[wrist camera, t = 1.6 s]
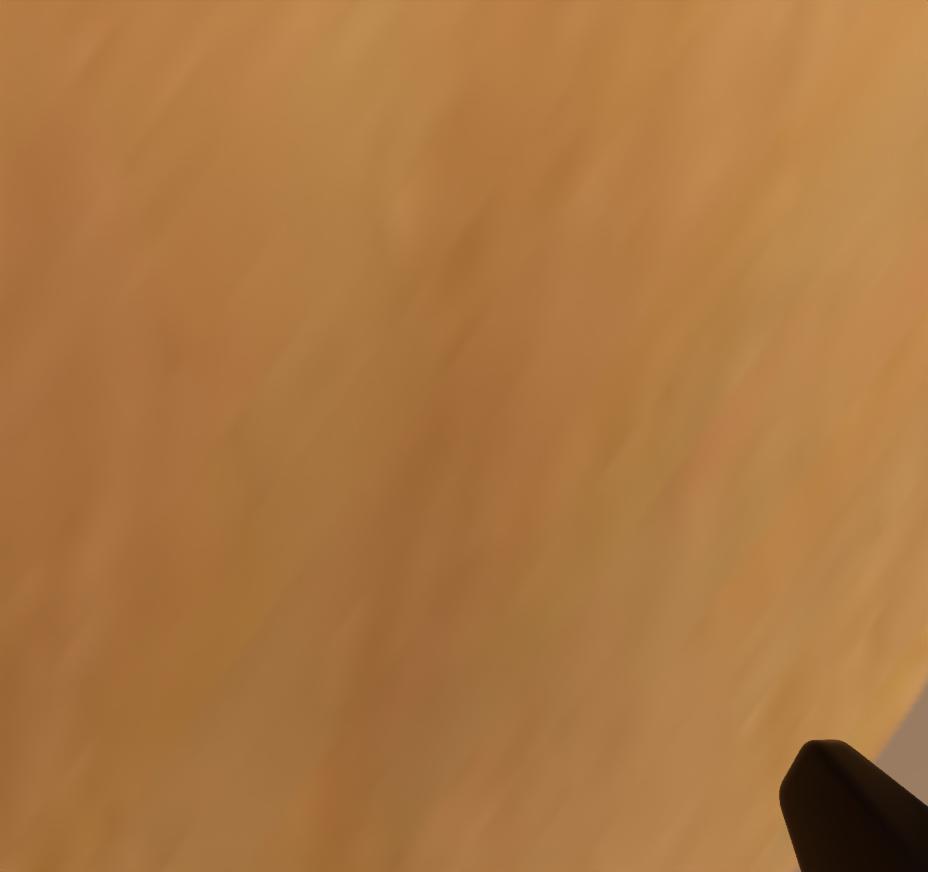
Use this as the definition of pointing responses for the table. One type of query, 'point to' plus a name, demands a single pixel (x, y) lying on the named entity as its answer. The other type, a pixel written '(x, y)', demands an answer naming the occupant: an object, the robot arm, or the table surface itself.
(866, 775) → the robot arm
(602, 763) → the table surface
